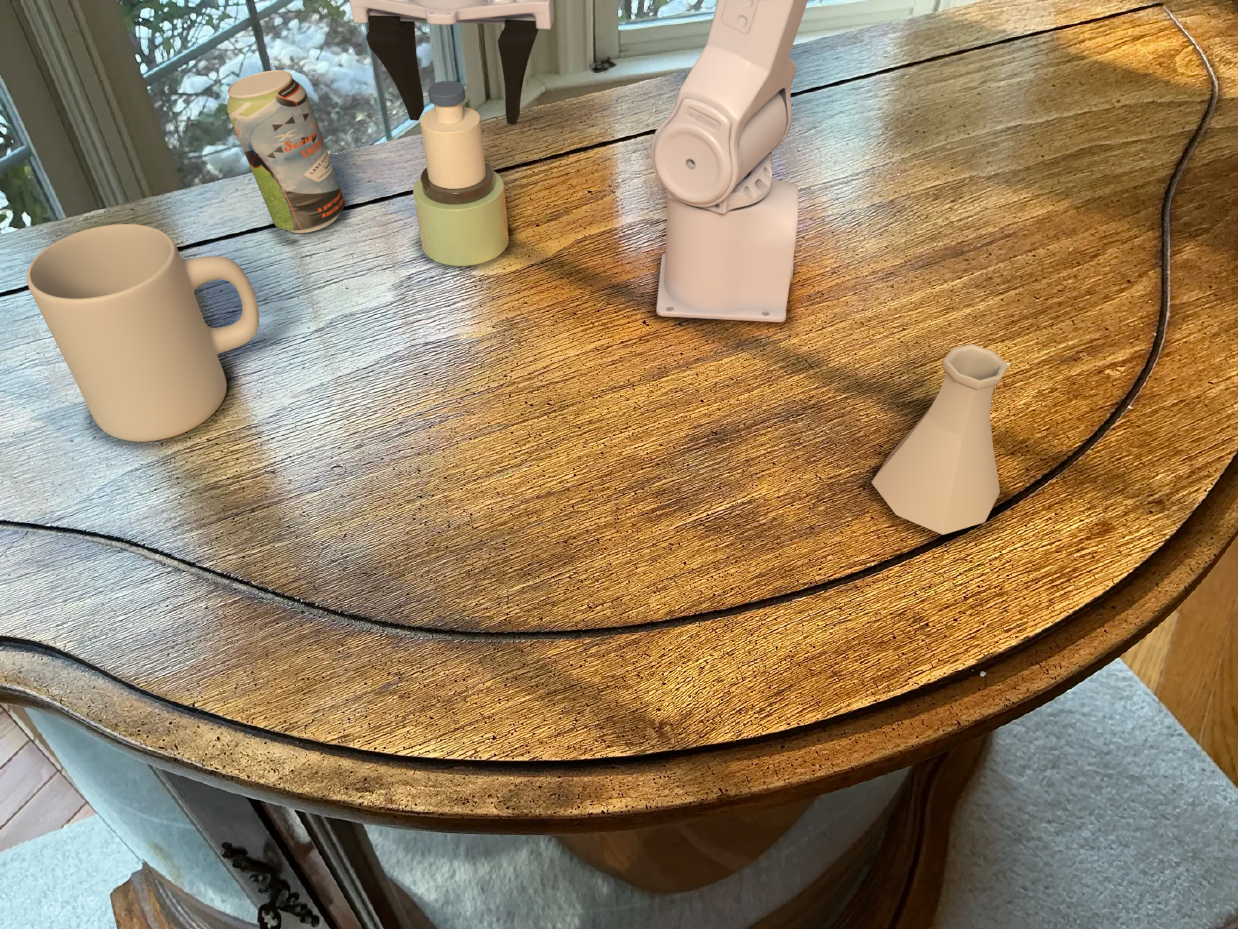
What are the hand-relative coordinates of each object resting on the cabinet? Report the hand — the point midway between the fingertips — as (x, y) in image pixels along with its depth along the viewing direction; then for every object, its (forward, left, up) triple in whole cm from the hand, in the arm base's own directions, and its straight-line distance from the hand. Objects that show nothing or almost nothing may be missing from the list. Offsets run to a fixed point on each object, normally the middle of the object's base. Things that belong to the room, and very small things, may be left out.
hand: (465, 116), depth 77 cm
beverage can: (+14, +3, -9) cm, 17 cm away
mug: (+15, +25, -9) cm, 30 cm away
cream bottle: (0, +5, -2) cm, 5 cm away
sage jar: (0, +5, -8) cm, 10 cm away
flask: (-34, +30, -9) cm, 46 cm away
